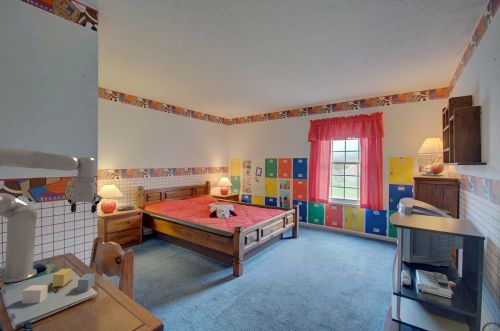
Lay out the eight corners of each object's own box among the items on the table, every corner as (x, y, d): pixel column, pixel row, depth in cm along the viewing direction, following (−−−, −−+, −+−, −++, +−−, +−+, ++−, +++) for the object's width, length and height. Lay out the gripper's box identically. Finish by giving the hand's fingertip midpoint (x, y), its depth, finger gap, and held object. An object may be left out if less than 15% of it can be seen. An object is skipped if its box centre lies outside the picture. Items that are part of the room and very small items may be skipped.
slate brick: (87, 291, 100) (88, 279, 100) (77, 291, 100) (78, 280, 100) (94, 284, 106) (95, 273, 106) (84, 284, 105) (85, 273, 106)
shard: (57, 294, 98) (57, 290, 98) (37, 294, 97) (37, 290, 97) (73, 282, 108) (73, 278, 108) (55, 282, 107) (56, 278, 108)
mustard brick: (63, 286, 101) (64, 274, 101) (52, 286, 100) (53, 274, 100) (70, 279, 107) (71, 268, 107) (60, 279, 106) (61, 268, 106)
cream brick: (22, 303, 89) (23, 290, 89) (30, 297, 93) (31, 285, 93) (39, 303, 90) (40, 290, 90) (47, 297, 94) (47, 285, 94)
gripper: (63, 179, 120) (61, 213, 120) (99, 181, 123) (97, 214, 122) (72, 179, 128) (70, 210, 127) (106, 180, 130) (104, 211, 130)
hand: (83, 212), depth 125 cm, fingers open, 9 cm apart
